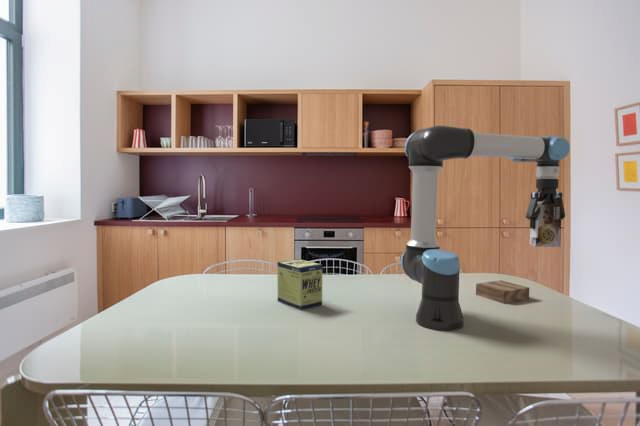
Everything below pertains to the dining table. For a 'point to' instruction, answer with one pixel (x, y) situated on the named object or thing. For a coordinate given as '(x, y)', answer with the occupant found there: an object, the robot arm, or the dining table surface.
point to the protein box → (300, 283)
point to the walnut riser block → (502, 291)
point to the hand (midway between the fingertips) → (544, 236)
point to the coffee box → (548, 226)
